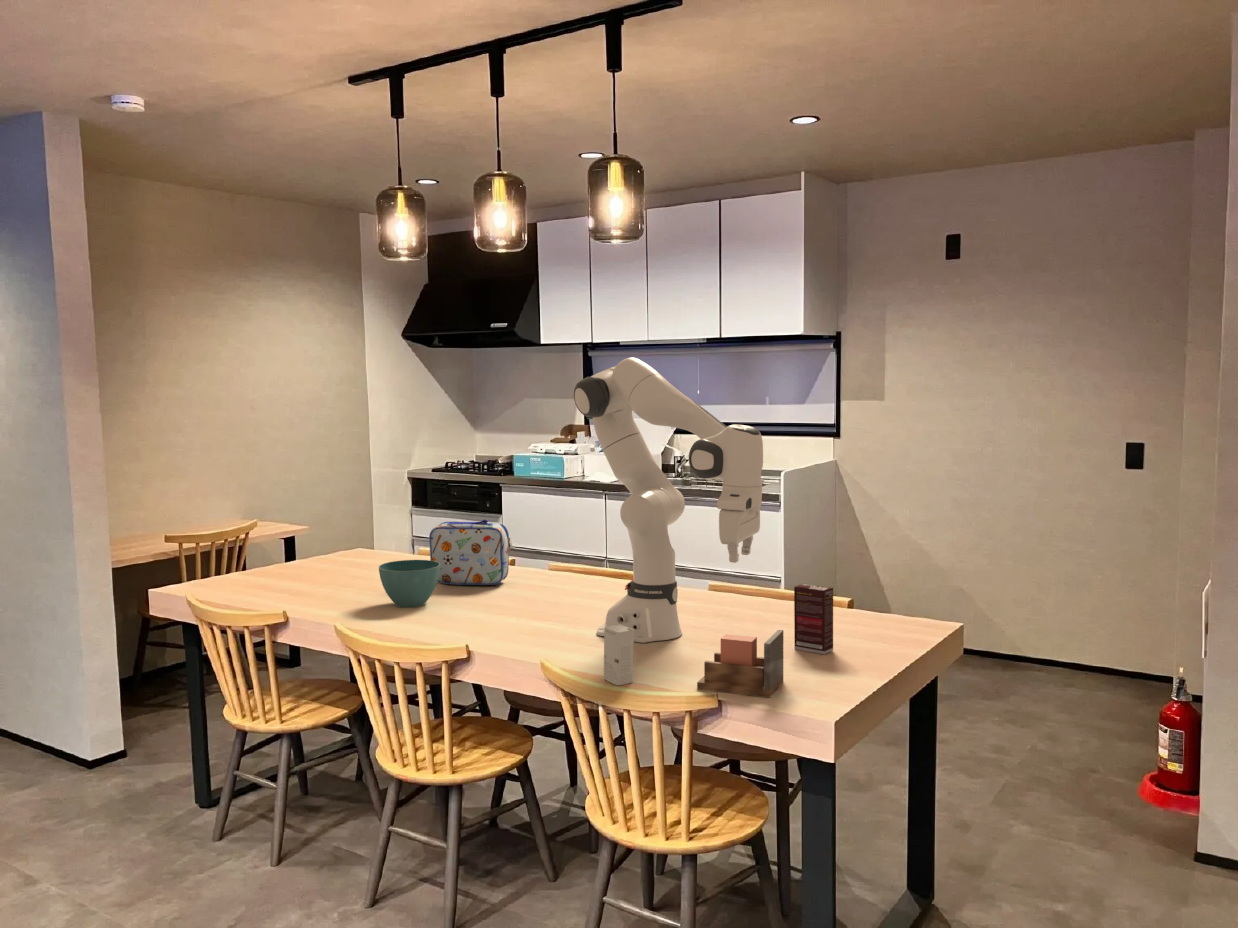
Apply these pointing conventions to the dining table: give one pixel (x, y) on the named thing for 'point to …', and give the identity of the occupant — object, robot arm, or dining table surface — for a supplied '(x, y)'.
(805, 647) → the supplement box
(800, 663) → the dining table surface
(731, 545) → the robot arm
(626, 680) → the skincare box
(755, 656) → the red book
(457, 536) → the lunch box
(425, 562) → the green bowl
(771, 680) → the book rack
